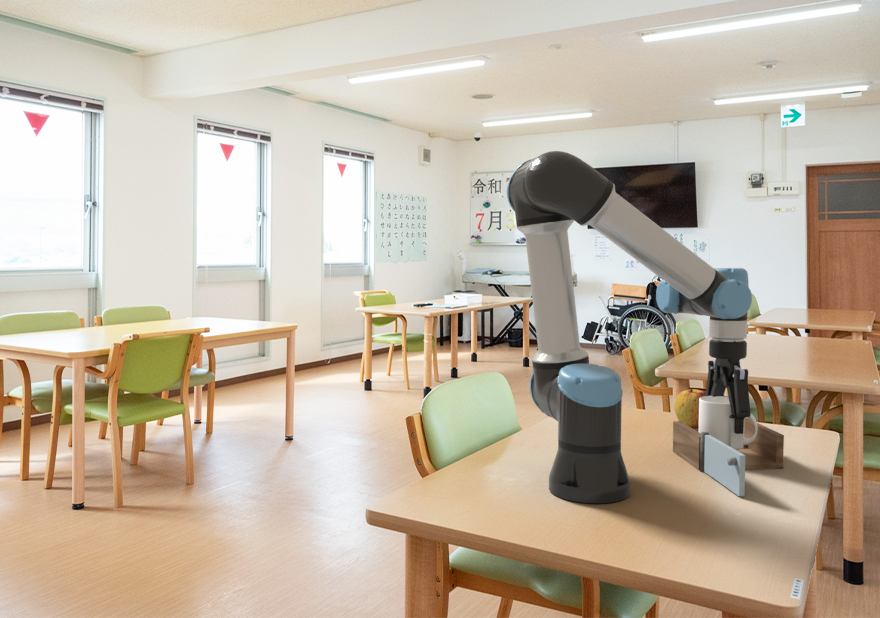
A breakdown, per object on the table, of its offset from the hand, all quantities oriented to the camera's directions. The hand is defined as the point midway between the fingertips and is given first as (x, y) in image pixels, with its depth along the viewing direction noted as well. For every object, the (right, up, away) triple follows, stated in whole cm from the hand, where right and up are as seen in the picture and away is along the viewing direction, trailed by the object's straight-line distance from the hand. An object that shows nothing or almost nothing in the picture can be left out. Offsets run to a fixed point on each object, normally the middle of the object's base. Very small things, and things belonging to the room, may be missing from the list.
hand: (725, 441), depth 151 cm
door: (-8, -5, -17) cm, 19 cm away
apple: (+4, -2, +30) cm, 31 cm away
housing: (0, -4, 0) cm, 4 cm away
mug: (0, -2, -1) cm, 2 cm away
